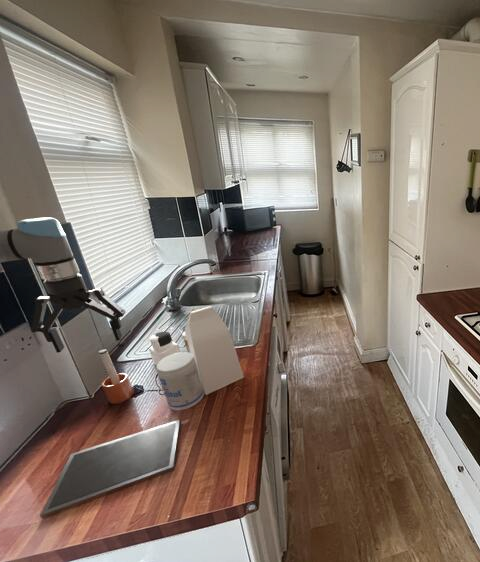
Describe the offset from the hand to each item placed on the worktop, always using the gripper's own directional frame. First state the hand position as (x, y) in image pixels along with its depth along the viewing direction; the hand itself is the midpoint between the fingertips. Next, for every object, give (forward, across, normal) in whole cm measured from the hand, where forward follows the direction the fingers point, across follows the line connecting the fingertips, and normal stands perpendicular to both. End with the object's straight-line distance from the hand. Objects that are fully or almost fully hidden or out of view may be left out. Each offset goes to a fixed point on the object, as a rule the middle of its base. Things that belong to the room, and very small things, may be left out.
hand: (91, 344), depth 90 cm
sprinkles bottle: (+19, +24, +6) cm, 31 cm away
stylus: (+19, +3, -2) cm, 19 cm away
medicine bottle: (+19, +14, +12) cm, 27 cm away
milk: (+19, +31, -6) cm, 37 cm away
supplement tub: (+19, +22, -13) cm, 32 cm away
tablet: (+19, +9, -30) cm, 37 cm away
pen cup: (+19, +3, -2) cm, 20 cm away
